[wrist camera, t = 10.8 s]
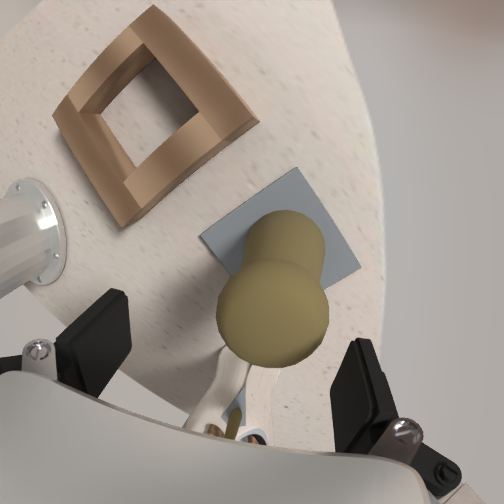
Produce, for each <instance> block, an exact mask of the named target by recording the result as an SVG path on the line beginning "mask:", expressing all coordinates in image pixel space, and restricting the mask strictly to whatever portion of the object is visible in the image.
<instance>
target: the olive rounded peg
mask: <svg viewBox="0 0 504 504" xmlns="http://www.w3.org/2000/svg"><path fill="white" fill-rule="evenodd" d="M324 258H325V240H324V238H323V235H322V233H321V230H320V229H319V227H318V226H317V225H316V224H315V223H314V221H313V220H312V219H310V218H308V217H307V216H305V215H304V214H302V213H299V212H295V211H291V210H279V211H273V212H271V213H269V214H266V215H264V216H262V217H261V218H260V219H259V220H258V221H257V222H255V223H254V225H253V226H252V228H251V230H250V231H249V233H248V236H247V241H246V246H245V252H244V257H243V263H242V268H241V269H240V270H239V271H238V272H236V273H235V274H234V275H233V276H231V277H230V278H229V280H228V282H227V283H226V285H225V287H224V288H223V290H222V292H221V294H220V295H219V298H218V304H217V311H216V321H217V325H218V330H219V333H220V335H221V336H222V338H223V340H224V341H225V343H226V345H227V346H228V348H229V349H230V350H231V351H232V352H233V353H234V354H235V355H236V356H238V357H239V358H240V359H242V360H244V361H246V362H248V363H250V364H252V365H256V366H260V367H264V368H283V367H287V366H291V365H295V364H297V363H298V362H300V361H302V360H304V359H305V358H307V357H308V356H310V355H311V354H312V353H313V352H314V351H315V350H316V349H317V348H318V346H319V345H320V344H321V343H322V340H323V338H324V335H325V333H326V330H327V327H328V324H329V305H328V300H327V298H326V295H325V293H324V290H323V288H322V286H321V285H320V279H321V274H322V269H323V263H324Z"/></svg>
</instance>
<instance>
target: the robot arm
mask: <svg viewBox="0 0 504 504" xmlns="http://www.w3.org/2000/svg"><path fill="white" fill-rule="evenodd" d="M65 260H66V236H65V230H64V225H63V221H62V218H61V214H60V212H59V209H58V207H57V205H56V203H55V201H54V199H53V197H52V195H51V194H50V193H49V191H48V190H47V188H46V187H45V186H43V185H42V184H41V183H40V182H38V181H37V180H35V179H31V178H25V179H20V180H17V181H15V182H14V183H13V184H12V185H11V186H10V187H9V189H8V190H7V192H6V195H5V197H4V199H0V299H1V298H2V297H4V296H5V295H7V294H8V293H10V292H11V291H13V290H14V289H16V288H18V287H19V286H21V285H23V284H24V283H26V282H27V281H31V282H33V283H34V284H37V285H48V284H50V283H52V282H53V281H55V280H56V279H57V278H58V277H59V276H60V274H61V273H62V270H63V268H64V265H65ZM131 347H132V342H131V332H130V321H129V308H128V297H127V296H126V295H125V293H124V292H123V291H121V290H117V289H113V288H111V289H109V290H108V291H107V292H106V293H105V294H104V295H102V296H101V297H100V298H99V299H98V300H97V301H96V302H95V303H93V304H92V305H91V306H90V307H89V308H88V309H87V310H86V311H85V312H84V313H82V314H81V315H80V316H79V317H78V318H77V319H76V320H75V321H74V322H73V323H72V324H71V325H69V326H68V327H67V328H66V329H65V330H64V331H63V332H62V333H61V334H60V335H59V336H58V337H57V338H56V342H55V343H54V344H53V343H52V342H50V341H49V340H46V339H37V340H33V341H31V342H29V343H28V344H26V345H25V347H24V348H23V352H22V355H17V356H10V357H2V358H0V504H485V503H484V502H483V500H482V499H481V498H480V497H479V496H478V495H477V494H476V493H475V492H474V491H473V490H472V489H471V487H470V486H469V485H468V484H467V483H464V484H462V483H461V479H462V474H461V470H460V468H459V467H458V466H457V465H456V464H455V463H454V462H452V461H451V460H449V459H447V458H446V457H444V456H443V455H441V454H439V453H438V452H436V451H435V450H433V449H432V448H430V447H429V446H427V445H425V444H424V443H422V440H423V437H424V436H423V431H422V428H421V427H420V426H419V424H418V423H416V422H415V421H414V420H411V419H409V418H399V416H398V413H397V410H396V406H395V403H394V400H393V397H392V394H391V391H390V388H389V385H388V382H387V379H386V376H385V374H384V372H382V370H381V367H380V365H379V362H378V359H377V356H376V353H375V350H374V347H373V345H372V342H371V340H370V339H363V338H356V339H355V341H351V342H350V344H349V347H348V349H347V352H346V354H345V356H344V359H343V361H342V363H341V366H340V368H339V370H338V372H337V375H336V377H335V379H334V381H333V383H332V386H331V389H330V399H331V409H332V419H333V429H334V440H335V452H321V451H309V450H299V449H289V448H280V447H272V446H265V445H259V444H253V443H247V442H241V441H236V440H231V439H226V438H221V437H216V436H212V435H208V434H204V433H199V432H195V431H192V430H188V429H184V428H180V427H177V426H173V425H170V424H167V423H163V422H160V421H157V420H154V419H151V418H148V417H144V416H142V415H139V414H136V413H133V412H130V411H128V410H125V409H123V408H120V407H117V406H115V405H112V404H110V403H107V402H105V401H103V400H100V399H98V397H99V395H100V394H101V392H102V391H103V389H104V388H105V387H106V385H107V384H108V382H109V381H110V379H111V378H112V377H113V375H114V374H115V372H116V371H117V369H118V368H119V367H120V365H121V364H122V362H123V361H124V360H125V358H126V357H127V355H128V354H129V353H130V351H131Z"/></svg>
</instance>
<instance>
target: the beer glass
mask: <svg viewBox="0 0 504 504" xmlns="http://www.w3.org/2000/svg"><path fill="white" fill-rule="evenodd" d="M280 370H281V368H264V367H260V366H256V365H252V364H250V363H248V362H246V361H244V360H242V359H240V358H239V357H238V356H236V355H235V354H234V353H233V352H232V351H231V350H230V349H229V348H228V346H227V345H226V346H225V347H224V348H223V349H222V350H221V352H220V354H219V357H218V361H217V369H216V375H215V378H214V380H213V382H212V384H211V386H210V387H209V389H208V390H207V392H206V393H205V394H204V396H203V397H202V398H201V400H200V401H199V403H198V404H197V405H196V407H195V408H194V409H193V411H192V412H191V414H190V415H189V417H188V419H187V420H186V422H185V423H184V425H183V427H182V428H184V429H188V430H192V431H195V432H199V433H204V434H208V435H212V436H216V437H221V438H226V439H231V440H236V441H241V442H247V443H253V444H259V445H265V446H272V447H274V425H273V412H272V393H273V389H274V386H275V384H276V382H277V379H278V377H279V374H280Z"/></svg>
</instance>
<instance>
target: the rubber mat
mask: <svg viewBox="0 0 504 504" xmlns="http://www.w3.org/2000/svg"><path fill="white" fill-rule="evenodd" d="M279 210H291V211H295V212H299V213H302V214H304V215H305V216H307V217H308V218H310V219H312V220H313V221H314V223H315V224H316V225H317V226H318V227H319V229H320V230H321V233H322V235H323V238H324V240H325V258H324V263H323V269H322V274H321V279H320V285H321V286H322V288H323V290H324V289H326V288H328V287H329V286H331V285H333V284H335V283H336V282H338V281H340V280H342V279H343V278H345V277H347V276H348V275H350V274H352V273H353V272H355V271H357V270H358V269H360V268H361V266H360V264H359V262H358V261H357V259H356V257H355V256H354V254H353V252H352V251H351V249H350V247H349V246H348V244H347V242H346V241H345V239H344V237H343V236H342V234H341V233H340V231H339V229H338V228H337V226H336V225H335V223H334V221H333V220H332V218H331V217H330V215H329V214H328V212H327V211H326V209H325V208H324V206H323V204H322V203H321V201H320V200H319V198H318V197H317V195H316V194H315V192H314V191H313V189H312V188H311V187H310V185H309V184H308V182H307V181H306V179H305V178H304V176H303V175H302V173H301V172H300V171H299V169H298V168H297V167H296V168H294V169H293V170H291V171H290V172H288V173H287V174H285V175H284V176H282V177H281V178H279V179H278V180H277V181H275V182H274V183H272V184H271V185H269V186H268V187H266V188H265V189H263V190H262V191H261V192H259V193H258V194H256V195H255V196H253V197H252V198H251V199H249V200H248V201H246V202H245V203H244V204H242V205H241V206H239V207H238V208H237V209H235V210H234V211H232V212H231V213H230V214H228V215H227V216H225V217H224V218H223V219H221V220H220V221H219V222H217V223H216V224H214V225H213V226H212V227H210V228H209V229H208V230H206V231H205V232H203V233H202V234H201V235H200V236H201V237H202V238H203V240H204V241H205V242H206V244H207V245H208V246H209V248H210V249H211V250H212V252H213V253H214V254H215V255H216V257H217V258H218V259H219V261H220V262H221V263H222V265H223V266H224V267H225V269H226V270H227V271H228V273H229V274H230V275H231V276H233V275H234V274H235V273H236V272H238V271H239V270H240V269H241V268H242V263H243V257H244V252H245V246H246V241H247V236H248V233H249V231H250V230H251V228H252V226H253V225H254V223H255V222H257V221H258V220H259V219H260V218H261V217H262V216H264V215H266V214H269V213H271V212H273V211H279Z"/></svg>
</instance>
